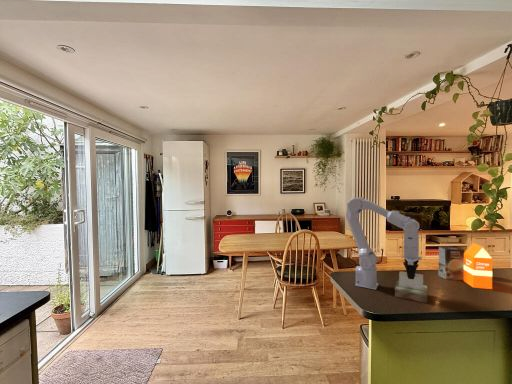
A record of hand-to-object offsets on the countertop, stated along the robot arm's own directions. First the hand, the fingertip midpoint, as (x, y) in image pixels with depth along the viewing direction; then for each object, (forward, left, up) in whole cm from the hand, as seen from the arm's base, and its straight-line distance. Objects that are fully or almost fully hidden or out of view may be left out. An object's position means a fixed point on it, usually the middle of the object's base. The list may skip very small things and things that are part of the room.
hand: (411, 276), depth 112 cm
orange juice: (+27, +32, -9) cm, 43 cm away
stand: (0, 0, -8) cm, 8 cm away
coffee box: (+17, +37, -9) cm, 42 cm away
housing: (0, 0, -4) cm, 4 cm away
